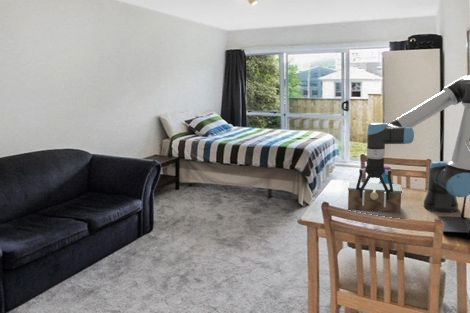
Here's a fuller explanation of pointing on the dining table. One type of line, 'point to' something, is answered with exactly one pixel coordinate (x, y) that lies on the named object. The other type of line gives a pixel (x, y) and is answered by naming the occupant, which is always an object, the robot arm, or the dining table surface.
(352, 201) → the storage box
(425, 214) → the dining table surface
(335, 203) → the dining table surface
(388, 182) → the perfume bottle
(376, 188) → the box lid
